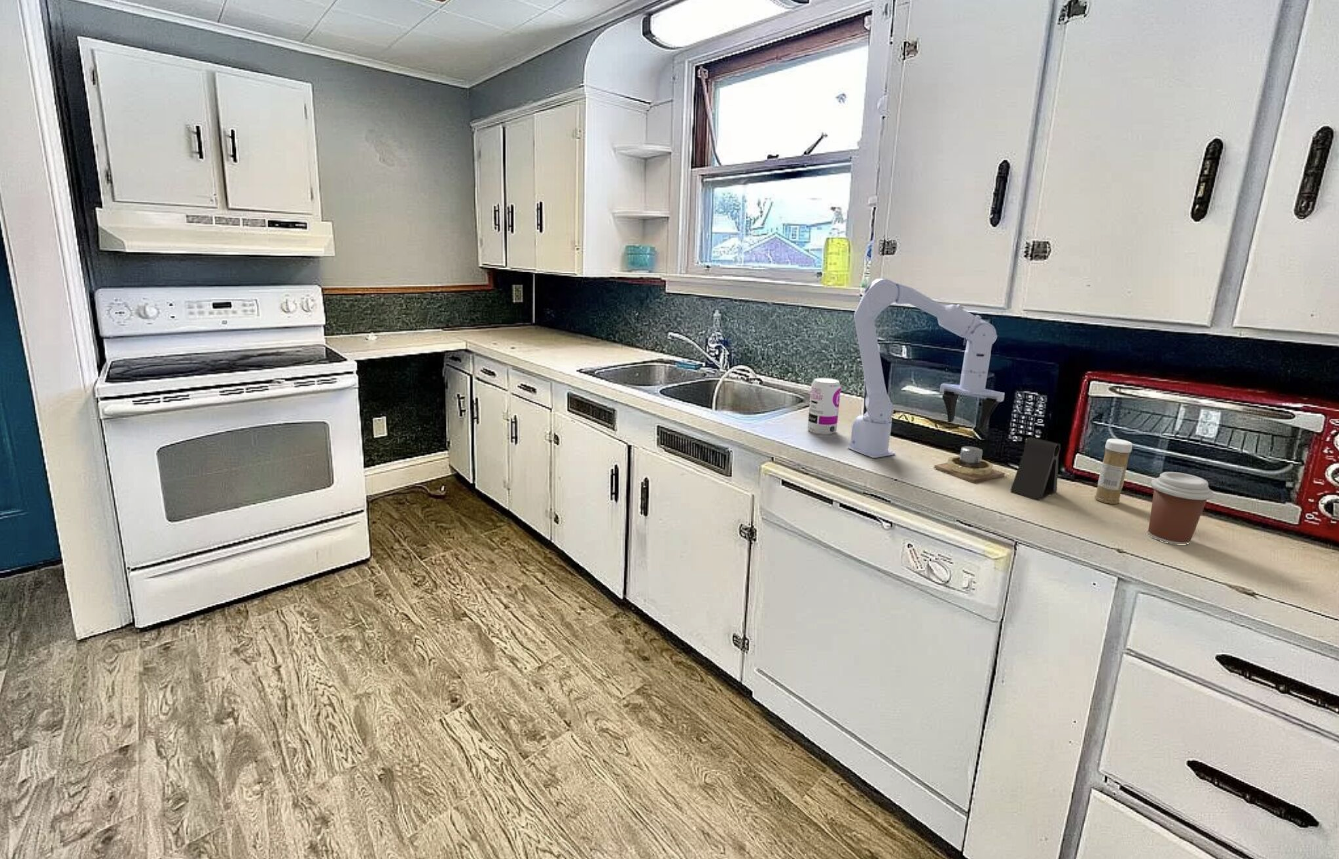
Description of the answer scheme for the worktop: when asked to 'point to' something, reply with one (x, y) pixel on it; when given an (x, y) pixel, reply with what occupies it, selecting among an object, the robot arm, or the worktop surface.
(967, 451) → the cylinder
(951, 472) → the ring plate
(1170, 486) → the coffee cup
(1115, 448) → the sprinkles bottle
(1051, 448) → the phone stand
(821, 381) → the supplement can
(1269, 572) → the worktop surface
